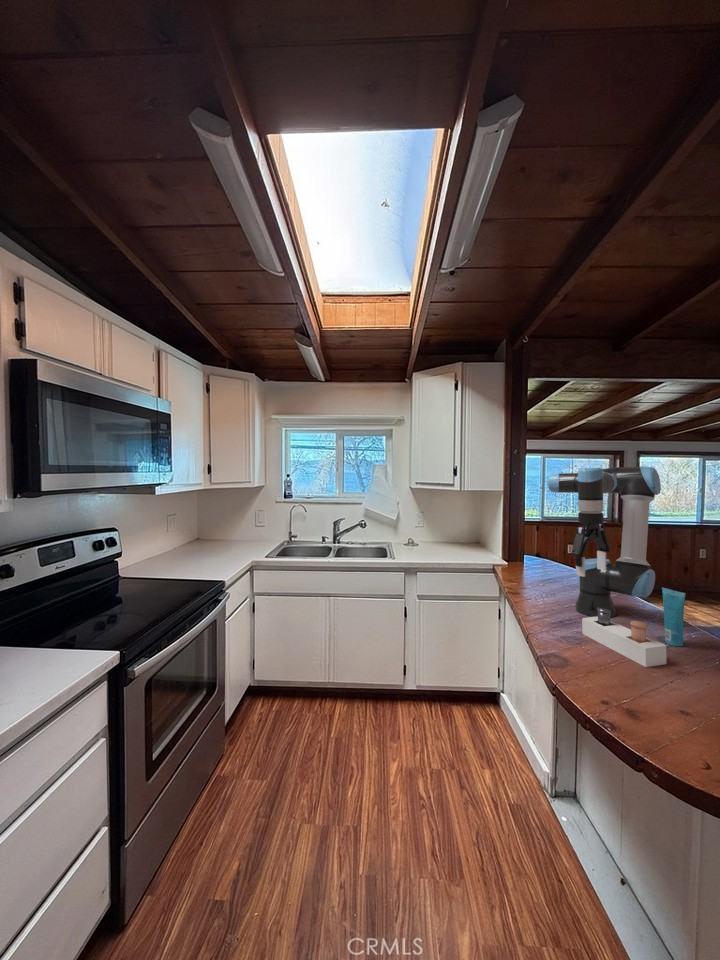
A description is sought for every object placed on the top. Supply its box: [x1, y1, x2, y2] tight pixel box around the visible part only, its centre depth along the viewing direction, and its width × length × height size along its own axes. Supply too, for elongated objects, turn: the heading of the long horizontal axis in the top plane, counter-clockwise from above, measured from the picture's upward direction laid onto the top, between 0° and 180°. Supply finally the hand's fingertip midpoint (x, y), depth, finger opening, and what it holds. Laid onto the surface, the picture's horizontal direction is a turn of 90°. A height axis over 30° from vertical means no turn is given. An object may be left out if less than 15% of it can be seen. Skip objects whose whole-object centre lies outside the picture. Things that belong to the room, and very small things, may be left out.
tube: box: [661, 587, 687, 647], centre depth 136 cm, size 7×5×19 cm, turn 26°
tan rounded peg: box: [630, 620, 648, 643], centre depth 127 cm, size 4×4×7 cm
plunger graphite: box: [597, 607, 612, 626], centre depth 141 cm, size 4×4×7 cm
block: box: [581, 616, 667, 668], centre depth 134 cm, size 8×26×6 cm, turn 11°
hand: (591, 572), depth 133 cm, fingers open, 13 cm apart
